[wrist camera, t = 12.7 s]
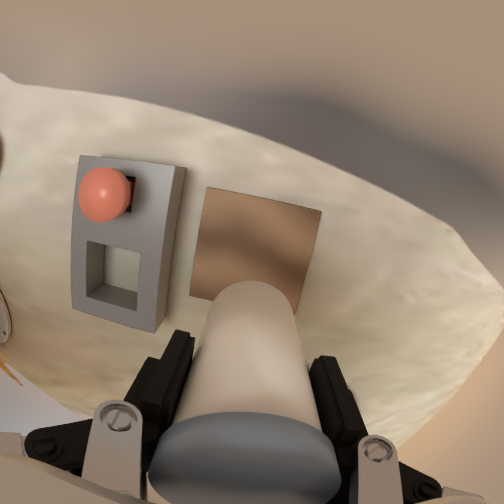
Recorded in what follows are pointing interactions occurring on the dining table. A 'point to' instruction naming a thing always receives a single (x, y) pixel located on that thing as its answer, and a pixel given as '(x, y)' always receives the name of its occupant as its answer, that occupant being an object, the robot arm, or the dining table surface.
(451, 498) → the robot arm
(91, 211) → the red round-topped peg
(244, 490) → the cylinder
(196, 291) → the pad
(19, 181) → the dining table surface
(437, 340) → the dining table surface
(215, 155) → the dining table surface
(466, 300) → the dining table surface
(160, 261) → the housing
